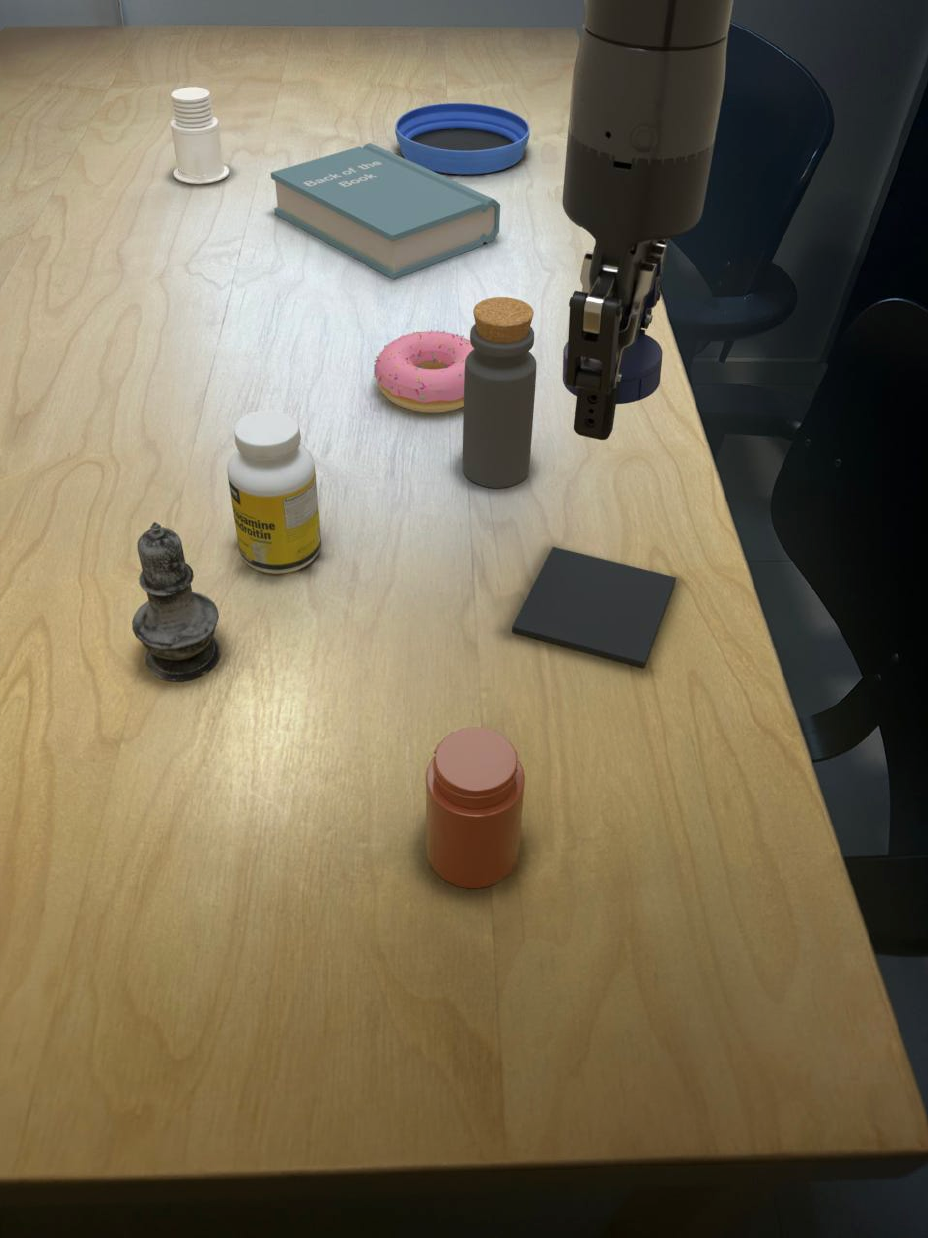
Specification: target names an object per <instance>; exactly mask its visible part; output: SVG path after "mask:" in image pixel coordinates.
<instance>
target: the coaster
mask: <svg viewBox="0 0 928 1238" xmlns="http://www.w3.org/2000/svg"><path fill="white" fill-rule="evenodd" d="M676 581H677V577H675V576H671V575H667V574H663V573H660V572H655V571H652V570H647V569H643V568H640V567H636V566H632V565H628V564H623V563H619V562H616V561H612V560H608V559H603V558H600V557H597V556H596V557H595V556H592V555H589V554H584V553H580V552H576V551H572V550H569V549H564V548H560V547H556V546H552V547H551V550H550V552H549V553H548V555H547V557H546V559H545V561H544V563H543V566H542V567H541V569H540V571H539V573H538V575H537V577H536V579H535V581H534V583H533V585H532V587H531V589H530V591H529V592H528V595H527V597H526V598H525V601H524V603H523V604H522V606H521V609H520V610H519V612H518V615H517V616H516V618H515V620H514V622H513V624H512V627H511V632H512V633H514V634H518V635H521V636H525V637H529V638H532V639H536V640H539V641H542V642H545V643H549V644H554V645H557V646H562V647H565V648H569V649H573V650H576V651H580V652H583V653H587V654H590V655H591V654H592V655H594V656H597V657H601V658H604V659H605V658H606V659H608V660H611V661H617V662H620V663H624V664H627V665H631V666H635V667H637V668H638V667H639V668H642V669H644V668H645V667H646V664H647V661H648V659H649V657H650V654H651V651H652V648H653V646H654V643H655V639H656V637H657V634H658V632H659V629H660V626H661V623H662V621H663V618H664V615H665V613H666V609H667V607H668V605H669V602H670V599H671V596H672V594H673V591H674V587H675V585H676Z"/></svg>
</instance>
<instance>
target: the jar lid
mask: <svg viewBox="0 0 928 1238" xmlns="http://www.w3.org/2000/svg"><path fill="white" fill-rule="evenodd" d="M619 330H624V329H623V328H619ZM562 353H563V354H562V384H563V385H564V387H565V388H566V390H567V391H568V392H569V393H571V394H572V395H573V396H575V397H577V391H578V387H570V386H567V385H566V372H567V357H568V341H567V342H566V343H565V344H564V347H563V352H562ZM663 355H664V354H663V349H662V346H661V345H660V343H659V342H658V341H657V340H656V339H655V338H653V337H652V336H650V335H648V334H646V333H645V334H644V333H641V332H639V335H638V339H637V342H636V343H635V344H634V345H632V346H629V347H628V348H627V349H626V353H625V358H624V362H623V367H622V372H621V374H622V379H621V382H620V383H619V385H618V392H617V400H616V405H624V404H632V403H635V402H638V401H641V400H644V399H646V398H648V397H650V396H651V395H653V394H654V393H655V392H656V391H657V389H658V388H659V386H660V384H661V377H662V376H661V375H662V365H663V364H662V363H663ZM589 360H590V361H594V362H599V363H601V362H600V361H599V360H595V359H591V358H590V359H589Z"/></svg>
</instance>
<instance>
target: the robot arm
mask: <svg viewBox="0 0 928 1238" xmlns="http://www.w3.org/2000/svg"><path fill="white" fill-rule="evenodd" d="M734 1H735V0H584V4H583V14H582V15H583V17H582V24H581V31H580V38H579V44H578V49H577V53H576V57H575V62H574V67H573V73H572V81H571V94H570V107H569V118H568V120H569V121H568V129H567V141H566V151H565V152H566V154H565V162H564V163H565V166H564V176H563V177H564V178H563V187H562V201H561V202H562V208H563V211H564V214H565V215H566V216H567V217H568V219H569V220H570V221H571V222H572V223H573V224H575V225H576V226H577V227H579V228H582V229H583V230H585V231H587V233H588V234H590V236H592V237H593V239H594V240H595V243H594V247H593V251H586V252H585V253H584V256H583V260H582V265H581V269H580V270H581V271H580V275H579V280H580V284H581V287H582V289H581V291H579V290H574V292H573V293H572V296H571V297H570V299H569V301H568V303H569V304H568V307H569V316H568V317H569V318H568V319H569V320H568V321H569V322H568V339H567V342H568V357H567V372H566V385H567V386H570V387H578V391H577V396H576V400H575V410H574V420H573V431H574V432H575V434H577V435H579V436H581V437H585V438H589V439H593V440H599V441H606V440H608V439H609V437H610V435H611V434H612V432H613V429H614V420H615V415H616V407H617V404H616V400H617V392H618V385H619V383H620V382H621V379H622V374H621V372H622V367H623V362H624V358H625V353H626V349H627V348H628V347H629V346H632V345H634V344H635V343H636V342H637V339H638V335H639V332H641V333H644V334H646V330H648V329H649V326H650V325H651V324H652V322H653V314H652V313H653V309H655V307H656V306H657V304H658V302H660V299H661V295H662V293H661V290H662V281H663V275H664V271H665V265H666V262H667V259H668V250H669V249H668V248H669V241H670V239H673V238H677V237H679V236H681V235H684V234H686V233H688V232H690V231H691V230H692V229H693V228H695V227H696V225H698V223H699V222H700V220H701V218H702V215H703V212H704V207H705V200H706V195H707V189H708V183H709V177H710V172H711V167H712V160H713V154H714V149H715V143H716V138H717V137H716V136H717V133H718V132H717V131H718V127H719V126H718V125H719V120H720V114H721V108H722V102H723V97H724V89H725V81H726V70H727V69H726V67H727V65H726V64H727V46H728V37H729V31H730V25H731V19H732V15H733V8H734ZM619 328H623V329H624V330H619ZM590 358H591V359H595V360H599V361H600V362H601V363H599V362H594V361H590V360H589V359H590Z"/></svg>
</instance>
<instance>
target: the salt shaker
mask: <svg viewBox="0 0 928 1238" xmlns="http://www.w3.org/2000/svg"><path fill="white" fill-rule="evenodd" d="M137 553H138V556H139V557H138V558H139V561H140V566H141V570H142V571H141V572H140V574H139V578H138V582H139V583H138V584H139V585H140V587H141V589H142V590H143V591H144V592H146V596H147V601H145V602H144V603H143V604H142V605H140V607H139V608H138V609H137V610H136V611H135V613H134V616H133V618H132V620H131V626H132V632H133V634H134V636H135V638H137V640H138V641H140V643H141V644H142V645H143V646H144V647H145V648H146V649H147V650H146V653H145V656H144V657H145V658H144V659H145V666H146V667H147V670H148V671H149V673H151V674H152V675H153V676H154V677H156V678H158V679H160V680H162V681H167V682H172V683H173V682H174V683H183V682H189V681H193V680H196V679H199V678H201V677H203V676H204V675H206V674H208V673H209V672H211V671H212V670H213V669H214V668H215V667H216V666H217V664H218V662H219V661H220V659H221V654H222V650H221V644H220V642H219V640H218V639H217V638H216V637H215V636H214V634H215V630H216V627H217V626H218V622H219V619H220V618H219V608H218V606H217V605H216V603H215V601H213V600H212V599H211V598H210V597H208V596H206V595H204V594H202V593H200V592H196V591H193V587H192V583H193V581H194V577H195V575H194V570H193V568H192V567H191V566H190V564H188V563H186V558H185V554H184V549H183V543H182V539H181V537H180V536H179V534H178V533H176V531H174V530H173V529H170V528H169V527H164V526H163V527H162V526H161V524H159V523H158V522H156V521H154V522H153V523H152V524H151V526H150V528H149V529H148V530H146V531H145V532H143V533H142V534H141V535H140V537H139V538H138V540H137Z"/></svg>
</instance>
